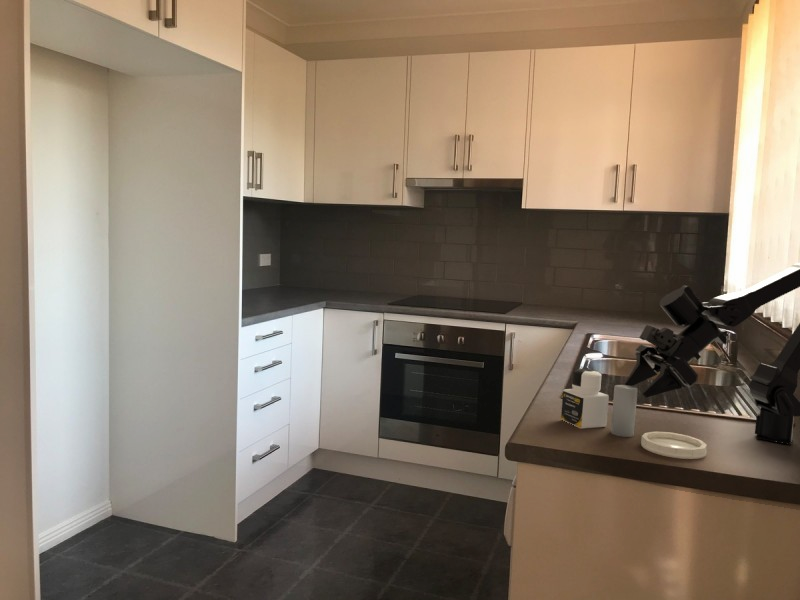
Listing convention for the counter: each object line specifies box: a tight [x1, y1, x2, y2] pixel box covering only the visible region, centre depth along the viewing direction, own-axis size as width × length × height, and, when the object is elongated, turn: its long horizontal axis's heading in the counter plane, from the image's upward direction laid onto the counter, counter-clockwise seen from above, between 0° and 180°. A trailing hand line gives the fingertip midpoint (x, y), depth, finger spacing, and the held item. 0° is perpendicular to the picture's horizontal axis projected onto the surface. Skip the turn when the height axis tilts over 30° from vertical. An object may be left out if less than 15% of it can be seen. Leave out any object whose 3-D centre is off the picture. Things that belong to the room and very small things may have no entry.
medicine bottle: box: [560, 368, 610, 429], centre depth 148 cm, size 7×7×12 cm
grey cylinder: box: [610, 384, 638, 438], centre depth 142 cm, size 5×5×10 cm
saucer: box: [640, 431, 708, 460], centre depth 133 cm, size 12×12×2 cm
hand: (634, 390), depth 142 cm, fingers open, 9 cm apart
